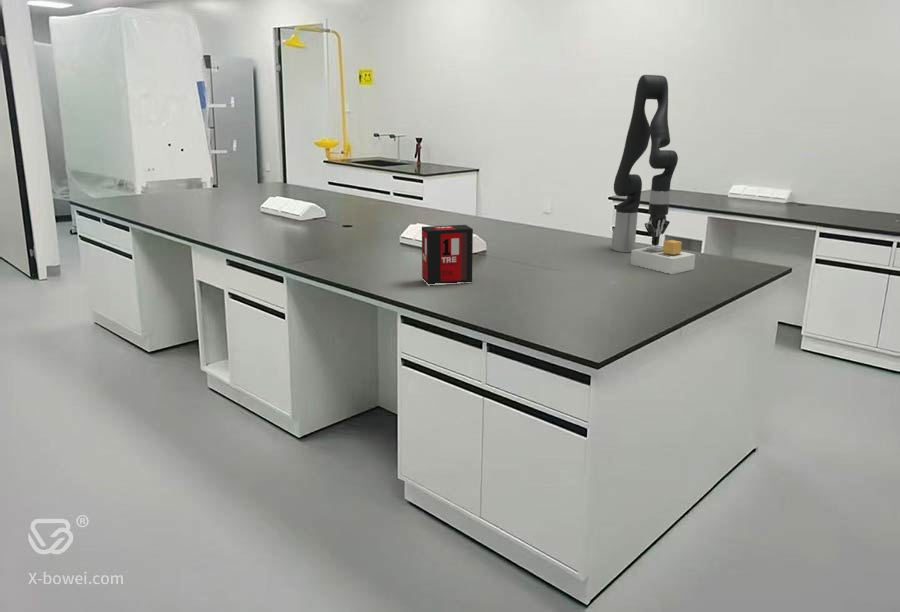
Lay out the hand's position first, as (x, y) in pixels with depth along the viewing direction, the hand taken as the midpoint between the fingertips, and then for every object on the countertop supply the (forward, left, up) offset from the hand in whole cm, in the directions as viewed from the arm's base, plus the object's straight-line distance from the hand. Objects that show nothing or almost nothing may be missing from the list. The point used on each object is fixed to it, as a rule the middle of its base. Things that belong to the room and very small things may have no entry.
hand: (655, 245), depth 274 cm
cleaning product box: (-26, -84, -8) cm, 88 cm away
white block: (0, 0, -6) cm, 6 cm away
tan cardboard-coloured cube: (+8, 0, -2) cm, 8 cm away
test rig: (+4, 0, -8) cm, 9 cm away
